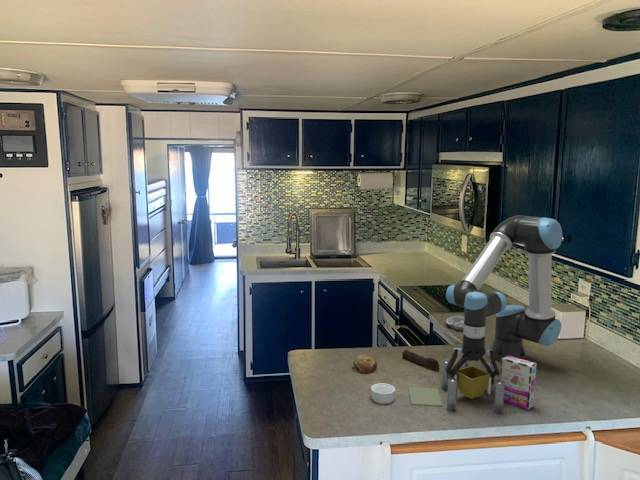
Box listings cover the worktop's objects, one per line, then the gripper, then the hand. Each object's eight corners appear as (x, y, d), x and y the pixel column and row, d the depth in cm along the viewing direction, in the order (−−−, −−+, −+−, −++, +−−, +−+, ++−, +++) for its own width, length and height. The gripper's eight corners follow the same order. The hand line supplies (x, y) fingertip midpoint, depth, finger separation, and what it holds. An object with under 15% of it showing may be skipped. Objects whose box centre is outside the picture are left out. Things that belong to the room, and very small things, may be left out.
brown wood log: (401, 359, 224) (401, 349, 223) (407, 357, 227) (408, 347, 226) (434, 374, 209) (434, 363, 208) (440, 371, 212) (441, 361, 211)
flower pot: (470, 403, 181) (471, 379, 180) (453, 392, 189) (454, 370, 187) (488, 397, 185) (490, 374, 184) (471, 387, 193) (472, 365, 191)
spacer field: (488, 384, 200) (490, 357, 198) (503, 414, 177) (505, 384, 175) (439, 381, 201) (440, 355, 200) (447, 411, 179) (448, 381, 177)
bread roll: (350, 375, 215) (345, 362, 212) (364, 359, 221) (360, 345, 218) (369, 382, 209) (364, 368, 205) (383, 366, 215) (378, 352, 211)
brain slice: (436, 325, 269) (437, 319, 268) (459, 319, 278) (459, 314, 278) (465, 336, 253) (466, 330, 252) (488, 330, 262) (488, 324, 261)
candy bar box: (534, 406, 182) (537, 362, 180) (528, 411, 179) (531, 367, 176) (504, 395, 190) (507, 354, 187) (498, 400, 187) (501, 357, 184)
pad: (437, 389, 195) (437, 388, 195) (442, 406, 182) (442, 405, 182) (408, 388, 196) (408, 387, 196) (411, 404, 183) (411, 403, 183)
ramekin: (369, 393, 192) (370, 382, 191) (393, 393, 192) (393, 383, 191) (371, 404, 183) (371, 393, 182) (396, 405, 183) (396, 394, 182)
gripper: (441, 338, 181) (439, 395, 184) (511, 340, 178) (507, 398, 182) (438, 330, 188) (436, 385, 192) (505, 332, 185) (502, 388, 189)
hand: (471, 391), depth 187 cm, fingers closed on flower pot, 11 cm apart
